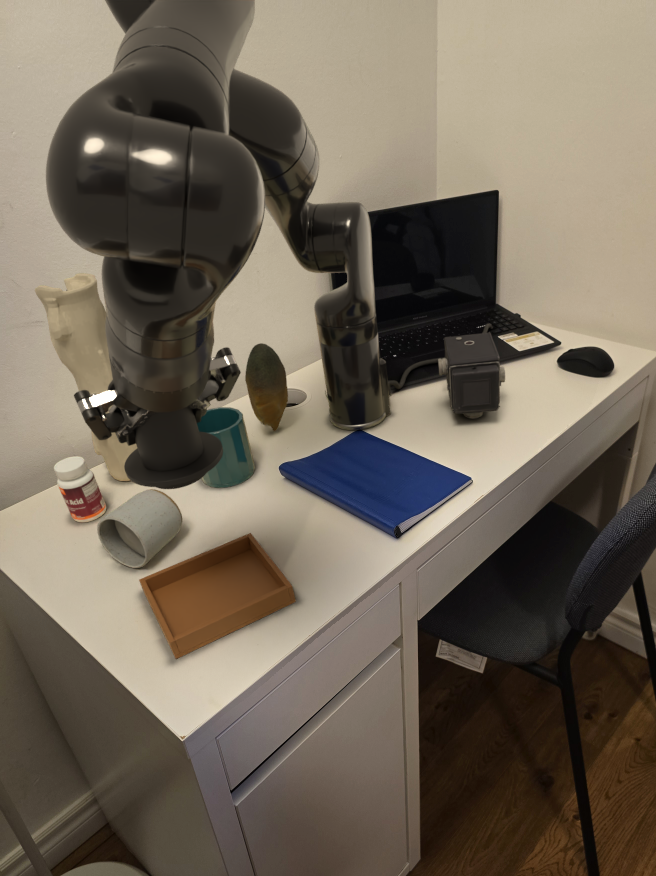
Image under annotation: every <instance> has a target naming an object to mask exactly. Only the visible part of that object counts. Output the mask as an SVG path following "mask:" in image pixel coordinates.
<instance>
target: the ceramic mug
mask: <svg viewBox="0 0 656 876" xmlns="http://www.w3.org/2000/svg"><path fill="white" fill-rule="evenodd" d="M182 526H183V515H182V511H181V509H180V508H179V506H178V504H177V503H176V502H175V500H173V498H172V497H171V496H169V495H168V494H166V493H165V492H164V491H161V490H158V489H153V488H151V489H150V488H149V489H145V490H143V491H140V492H138V493H137V494H135V495H133V496H132V497H131V498H129V499H128V500H127V501H125V502H124V503H122V504H121V505H119V506H117V507H116V508H115V509H113V510H112V511H110V512H109V513H107V514H105V515H104V516H103V517H102V518H100V520H99V521H98V523H97V527H96V529H97V531H96V533H97V536H98V539H99V541H100V543H101V545H102V546H103V547H104V549H105V551H106V552H107V553H108V554H109V555H110V556H111V557H112V558H113V559H114V560H115V561H116V562H118V563H119V564H122V565H124V566H125V567H129V568H132V569H140V568H143V567H144V566H146V565H147V564H148V563H149V562H150V561H151V560H152V559H153V558H154V557H155V556H156V555H157V554H158V553H159V552H161V551H162V549H164V547H165V546H167V545H168V544H169V542H171V541H172V540H173V539H174V538H175V537H176V536H177V535H178V533H179V532H180V531H181V528H182Z"/></svg>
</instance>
